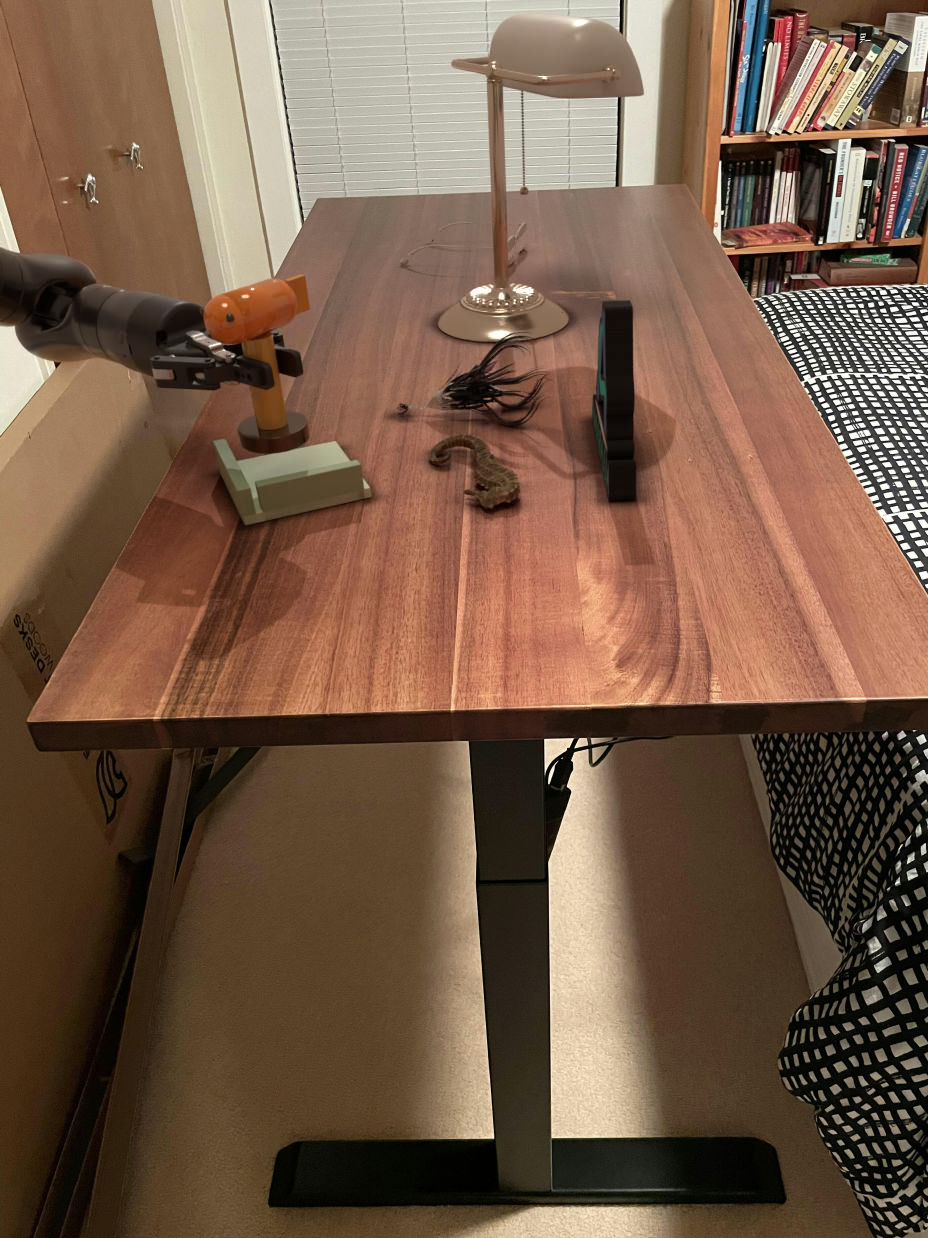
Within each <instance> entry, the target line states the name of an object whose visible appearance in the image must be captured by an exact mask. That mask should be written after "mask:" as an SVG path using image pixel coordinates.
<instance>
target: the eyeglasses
mask: <svg viewBox="0 0 928 1238" xmlns="http://www.w3.org/2000/svg"><path fill="white" fill-rule="evenodd" d="M462 224H463V225H464V224H465V225H467V224H468V225H469V224H471V222H470V221H457V222H453V223H450V224H447V225H446V224H445V226H442V227H441V228H439V229H438V230H442V229H443V230H445V229H446V228H449V227H451V226H455V225H462ZM477 224H479V225H482V224H484V225H492V222H476V225H477ZM507 226H518V227H519V228H518V229H517V233H516V234H514V235H513V234H512V235H511V236H510V237H508V253H509V252H510V251H511V250H512V248H513V247H514V245H515V246H516V242H515V240H516V241H517V240H518V239H519V238H520V237H521V236H522V235H523V233H524V232H525V230H526V231H527V222H518V223H507ZM443 230H442V231H443ZM431 247H441V248H445V247H448V248H450V247H451V248H465V246H462V245H445V244H426V245H424V246H423V245H422V246H420V247H418V248H416V249H414V250H412V251H411V252H409V253H408V254H407V255H412V256H414V255H415V254H416V253H417V252H419V251H421V250H422V249H425V248H431ZM469 248H470V249H471V248H472V249H493V246H491V247H490V246H488V247H487V246H467V249H469ZM514 260H515V255H514V256H513V255H512V257H511V258H510V259H509V260H508V266H510V265H512V264H513V262H514ZM409 262H410V260H404V259H403V258H402V259H401V260H400V261H399V264H400V265H401V266H402V265H403V266H406V265H408V264H409Z"/></svg>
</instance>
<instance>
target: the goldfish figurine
mask: <svg viewBox="0 0 928 1238" xmlns="http://www.w3.org/2000/svg"><path fill="white" fill-rule="evenodd" d="M310 306H311V305H310V299H309V293H308V287H307V279H306V275H305V274H301V273H300V274H297V275H295V276H291V277H289V278H286V279H285V278H284V280H282V279H278V278H271V277H270V278H265V279H262V280H259V281H256V282H254V283H250V284H247V285H245V286H242V287H238V288H236V289H233V290H232V289H231V290H230V291H226V292H224V293H220V294H218V295H216V296H214V297H212V298H211V299H210V300H209V301H208V302H207V303H206V305H205V306H201V307H202V308H201V309H200V313H201V315H203V321H204V326H205V328H206V330H207V332H208V333H209V335H210V336H211V337H212V338H213V339H214V340H216V341H218V342H219V343H222V344H225V345H235V344H239V343H241V347H242V352H243V356H245V357H249V358H253V359H256V360H260V361H264V362H267V363H269V364H270V365H271V367H272V371H273V377H274V382H275V386H274V387H273V388H271V389H268V390H264V389H260V388H257V387H253V386H250V385H248V387H249V393H250V397H251V403H252V407H253V412H254V414H252V415H250V416H248V417H246V418H244V419H243V420H241V421H240V422H239V423H238V425H237V427H236V428H237V429H236V431H237V435H238V440H239V444H240V446H241V447H242V449H244V450H245V451H247V452H248V453H249V452H250V453H254V454H261V455H269V454H275V453H282V452H287V451H290V450H294V449H299V448H301V447H302V446H304V445H305V444H307V443H308V441H310V439H311V432H310V425H309V419H308V417H306V416H305V415H304V414H302V413H300V412H298V411H294V410H293V411H291V410H287V408H286V402H285V397H284V392H283V386H282V380H281V374H280V373H279V368H278V362H277V357H276V351H275V345H274V340H273V334H272V332H270V331H273V330H275V329H278V330H279V329H280V328H283V327H285V326H287V325H289V324H290V323H292V321H293V320H294V319H295V317H296V315H299V314H302V313H305V312H308V311H310V310H311V307H310Z"/></svg>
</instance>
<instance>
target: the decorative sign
mask: <svg viewBox="0 0 928 1238" xmlns="http://www.w3.org/2000/svg"><path fill="white" fill-rule="evenodd" d="M600 315H601V316H600V319H599V324H598V336H597V338H598V339H597V371H596V382H595V394H594V393H593V394H592V403H591V424H592V428H593V429H592V430H593V433H594V437H595V443H596V446H597V453H598V459H599V463H600V465H601V471H602V476H603V481H604V486H605V492H606V493H607V500H608V501H620V500H621V501H622V500H637V499H636V498H637V460H636V459H635V451H636V450H635V449H636V448H635V433H634V432H635V427H634V425H635V424H634V422H635V421H634V420H635V419H634V417H635V415H634V414H635V402H636V400H635V397H636V396H635V393H636V392H635V378H634V306H633V304H632V301H631V300H630V299H627V300H603V301H602V303H601V314H600Z"/></svg>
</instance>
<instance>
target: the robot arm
mask: <svg viewBox="0 0 928 1238" xmlns="http://www.w3.org/2000/svg"><path fill="white" fill-rule="evenodd" d="M202 307H203V306H201V305H199V304H197V303H196V302H192V301H188V300H184V299H179V298H175V297H172V296H171V297H170V296H167V295H163V294H159V293H155V292H151V291H145V290H130V289H127V288H122V287H118V286H114V285H110V284H106V283H99V282H98V278H97V277H96V275H95V273H94V272H93V271H92V270H91V269H90V267H89V266H88V265H87V264H85V263H84V262H83V261H80V260H78V259H76V258H74V257H72V256H69V255H64V254H60V253H52V252H51V253H50V252H16V251H13V250H10V249H7V248H4V247H1V246H0V327H4V328H12V327H14V333H15V335H16V339H17V340H18V342H19V343H20V345H21V346H22V347H23V348H24V349H25V350H26V351H27V352H28V353H29V354H31V355H33V356H35V357H37V358H39V359H42V360H45V361H49V362H55V363H75V362H82V361H87V360H92V359H101V360H102V359H103V360H106V361H109V362H112V363H115V364H119V365H121V366H123V367H125V368H127V369H129V370H131V371H133V372H136V373H139V374H142V375H145V376H149V377H152V378H154V381H155V384H156V388H160V389H174V390H175V389H176V390H177V389H178V390H195V391H218V390H220V389H221V388H222V386H221V383H223V384H226V385H228V386H238V385H240V384H243V385H247V386H249V385H250V386H253V387H257V388H260V389H264V390H268V389H271V388H273V387H274V386H275V382H274V377H273V371H272V367H271V365H270V364H269V363H267V362H264V361H260V360H256V359H253V358H249V357H245V356H243V352H242V347H241V343H239V344H235V345H225V344H222V343H219V342H218V341H216V340H214V339H213V338H212V337H211V336H210V335H209V333H208V332H207V330H206V328H205V326H204V321H203V315H201V313H200V309H201V308H202ZM270 332H272V334H273V340H274V345H275V351H276V357H277V362H278V368H279V374H280V375H283V376H288V377H291V378H299V377H301V376H302V375H304V368H303V361H302V355H301V352H300V351H298V350H296V349H292V348H288V347H286V345H285V339H284V335H283V334H284V333H283V332H282V331H281V330H279V328H278V329H275V330H273V331H270Z"/></svg>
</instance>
